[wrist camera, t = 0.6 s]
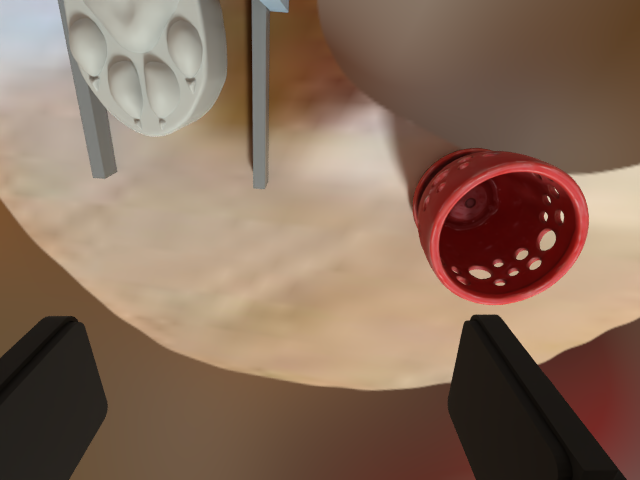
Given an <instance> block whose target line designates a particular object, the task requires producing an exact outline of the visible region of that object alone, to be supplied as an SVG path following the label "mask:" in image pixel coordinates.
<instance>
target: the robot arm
mask: <svg viewBox="0 0 640 480" xmlns="http://www.w3.org/2000/svg"><path fill="white" fill-rule="evenodd" d="M107 405H108V404H107V400H106V397H105V393H104V390H103V386H102V383H101V380H100V376H99V373H98V369H97V366H96V363H95V359H94V356H93V353H92V349H91V346H90V343H89V339H88V336H87V333H86V329H85V326H84V324H83V323H81V322H78V320H77V319H76V318H75V317H72V316H48V317H45V318H43V319H42V320H41V321H39V322H38V323H37V324H36V325H35V326H34V327H33V328H32V329H31V330H30V331H29V332H28V333H27V334H26V335H24V337H22V338H21V339H20V340H19V341H18V342H17V343H16V344H15V345H14V346H13V347H12V348H11V349H10V350H9V351H7V352H6V353H5V354H4V355H3V356H2V357H1V358H0V480H69V479H70V477H71V475H72V473H73V472H74V470H75V468H76V467H77V465H78V463H79V462H80V460H81V458H82V456H83V455H84V453H85V451H86V450H87V448H88V446H89V445H90V443H91V441H92V439H93V438H94V436H95V434H96V433H97V431H98V429H99V427H100V426H101V424H102V422H103V421H104V419H105V417H106V413H107V407H108V406H107ZM448 410H449V414H450V417H451V419H452V422H453V424H454V427H455V429H456V432H457V434H458V436H459V439H460V441H461V444H462V446H463V449H464V451H465V454H466V456H467V458H468V461H469V463H470V466H471V468H472V471H473V473H474V476H475V478H476V480H627V479H626V478H625V477H624V476H623V474H622V473H621V472H620V470H619V469H618V468H617V466H616V465H615V464H614V463H613V461H612V460H611V459H610V457H609V456H608V455H607V453H606V452H605V451H604V450H603V449H602V447H601V446H600V445H599V443H598V442H597V441H596V439H595V438H594V437H593V435H592V434H591V433H590V432H589V431H588V429H587V428H586V426H585V425H584V424H583V423H582V421H581V420H580V419H579V418H578V416H577V415H576V413H575V412H574V411H573V410H572V408H571V407H570V406H569V404H568V403H567V402H566V401H565V400H564V398H563V397H562V395H561V394H560V393H559V392H558V390H557V389H556V388H555V386H554V385H553V384H552V382H551V381H550V380H549V379H548V377H547V376H546V375H545V374H544V373H543V372H542V370H541V369H540V368H539V366H538V365H537V364H536V363H535V361H534V360H533V359H532V357H531V356H530V355H529V353H528V352H527V351H526V350H525V348H524V347H523V346H522V344H521V343H520V342H519V341H518V339H517V338H516V337H515V335H514V334H513V333H512V331H511V330H510V329H509V328H508V326H507V325H506V324H505V322H504V321H503V320H502V319H501V317H500V316H498V315H473V316H472V317H471V319H470V321H465V322H464V325H463V329H462V334H461V339H460V344H459V348H458V353H457V358H456V363H455V368H454V372H453V377H452V382H451V387H450V392H449V396H448Z"/></svg>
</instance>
